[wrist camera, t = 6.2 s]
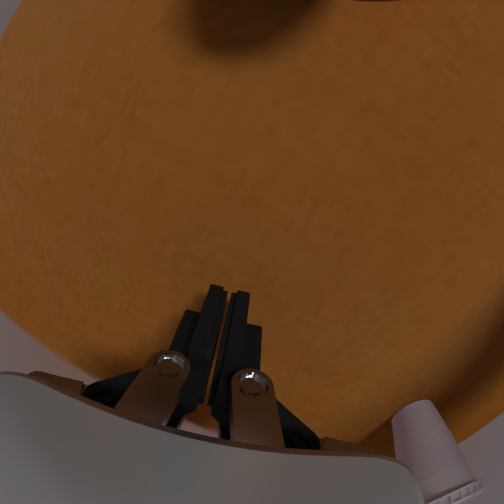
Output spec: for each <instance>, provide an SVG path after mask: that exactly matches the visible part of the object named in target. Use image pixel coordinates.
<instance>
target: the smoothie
mask: <svg viewBox="0 0 504 504" xmlns="http://www.w3.org/2000/svg"><path fill="white" fill-rule="evenodd" d="M391 423H392V430H393V438H394V446H395V455H396V460H399V461H401V462H403V463H405V464H406V465H407V466H409V467H410V469H411V470H412V471H413V473H414V474H415V476H416V478H417V481H418V483H419V486H420V488H421V492H422V495H423V498H424V502H425V504H466V503H467V502H468V501H471V500H472V499H474V498H475V497H477V496H478V495H480V494H481V493H482V492H483V491H484V487H483V484H482V480H481V479H480V480H477V479H476V477H475V475H474V474H473V471H472V470H471V467H470V465H469V464H468V462H467V461H466V459H465V457H464V455H463V453H462V451H461V450H460V448H459V446H458V444H457V443H456V441H455V439H454V437H453V436H452V434H451V432H450V431H449V429H448V427H447V426H446V424H445V422H444V421H443V419H442V417H441V416H440V414H439V412H438V411H437V409H436V408H435V406H434V404H433V403H432V401H430V400H419V401H416V402H413V403H411V404H409V405H407V406H405V407H404V408H402V409H401V410H399V411H398V412H397V413H396V414H395V415H394V416H393V418H392V420H391Z"/></svg>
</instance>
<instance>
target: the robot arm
mask: <svg viewBox="0 0 504 504" xmlns="http://www.w3.org/2000/svg"><path fill="white" fill-rule="evenodd" d="M223 288H224V287H221V286H217V285H213V284H211V286H210V288H209V291H208V294H207V297H206V300H205V302H204V305H203V308H202V311H201V313H199V312H195V311H191V310H187V309H186V311H185V313H184V315H183V317H182V320H181V322H180V324H179V327H178V329H177V331H176V334H175V336H174V339H173V341H172V343H171V346H170V348H169V350H162V351H158V352H156V353H154V354H153V355H152V356H151V357H150V358H149V360H148V361H147V362H146V364H145V365H144V366H143V368H142V369H139V370H136V371H132V372H129V373H126V374H122V375H119V376H116V377H112V378H109V379H105V380H102V381H98V382H95V383H92V384H91V385H85V384H84V383H83V381H78V380H73V379H69V378H65V377H60V376H57V375H52V374H49V373H45V372H41V371H34V372H30V373H29V374H24V373H18V372H12V371H3V372H0V504H425V502H424V498H423V495H422V492H421V488H420V486H419V483H418V481H417V478H416V476H415V474H414V473H413V471H412V470H411V469H410V467H409V466H407V465H406V464H405V463H403V462H401V461H399V460H396V459H394V458H391V457H387V456H384V455H380V454H379V452H378V451H377V450H376V449H374V448H373V447H370V446H367V445H361V444H356V443H351V442H346V441H342V440H337V439H333V438H328V437H324V438H323V439H322V438H318V436H317V435H316V434H315V433H314V432H313V431H312V430H311V429H309V428H308V427H307V426H306V425H305V424H304V423H302V422H301V421H300V420H299V419H298V418H297V417H296V416H294V415H293V414H292V413H291V412H290V411H289V410H288V409H287V408H285V407H284V406H283V405H282V404H281V403H280V402H279V401H278V400H277V399H276V397H275V391H274V386H273V383H272V380H271V379H270V378H269V377H268V376H267V375H266V374H265V373H263V372H261V371H260V359H261V339H262V327H261V326H257V325H252V324H247V316H248V307H249V299H250V293H248V292H243V291H239V290H238V291H237V293H232V294H231V298H230V303H229V307H228V312H227V316H226V321H225V325H224V330H223V334H222V339H221V343H220V348H219V352H218V357H217V361H216V366H215V371H214V375H213V380H212V385H211V389H210V394H209V399H208V404H207V405H208V406H212V411H211V415H212V416H213V417H214V418H215V419H216V421H217V422H218V438H214V437H209V436H205V435H200V434H195V433H191V432H187V431H183V430H179V429H180V427H181V425H182V423H183V421H184V417H185V415H187V414H189V413H191V412H193V411H195V410H196V407H197V403H199V404H203V401H204V396H205V392H206V388H207V383H208V379H209V374H210V370H211V366H212V361H213V357H214V353H215V349H216V344H217V340H218V335H219V330H220V326H221V321H222V316H223V312H224V307H225V302H226V298H227V293H228V291H224V290H223Z"/></svg>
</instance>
